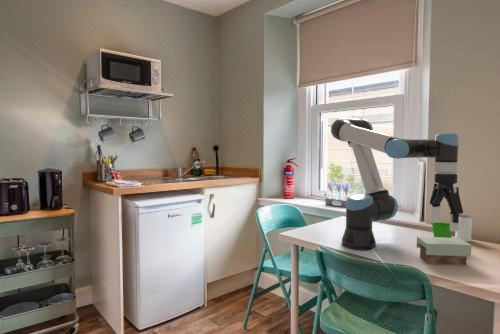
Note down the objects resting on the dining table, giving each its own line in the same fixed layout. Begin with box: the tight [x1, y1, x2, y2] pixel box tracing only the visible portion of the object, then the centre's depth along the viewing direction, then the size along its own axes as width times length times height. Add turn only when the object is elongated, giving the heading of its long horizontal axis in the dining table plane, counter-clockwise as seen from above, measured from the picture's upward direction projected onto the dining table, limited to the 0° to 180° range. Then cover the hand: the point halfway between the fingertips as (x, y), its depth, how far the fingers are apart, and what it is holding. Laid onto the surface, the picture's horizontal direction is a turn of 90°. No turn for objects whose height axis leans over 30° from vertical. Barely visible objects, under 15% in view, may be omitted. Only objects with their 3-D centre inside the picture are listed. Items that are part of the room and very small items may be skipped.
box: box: [419, 244, 468, 266], centre depth 122 cm, size 14×7×7 cm, turn 83°
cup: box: [431, 221, 454, 238], centre depth 140 cm, size 9×9×11 cm
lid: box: [416, 236, 472, 257], centre depth 122 cm, size 16×9×4 cm, turn 83°
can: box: [454, 214, 473, 243], centre depth 151 cm, size 6×6×12 cm
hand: (444, 226), depth 121 cm, fingers open, 13 cm apart
